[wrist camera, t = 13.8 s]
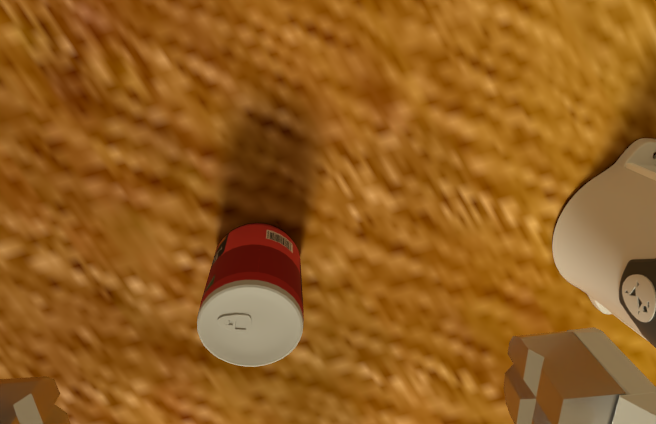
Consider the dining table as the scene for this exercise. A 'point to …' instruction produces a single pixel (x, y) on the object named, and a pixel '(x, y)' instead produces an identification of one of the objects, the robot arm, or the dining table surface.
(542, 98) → the dining table surface
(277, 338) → the canned food
